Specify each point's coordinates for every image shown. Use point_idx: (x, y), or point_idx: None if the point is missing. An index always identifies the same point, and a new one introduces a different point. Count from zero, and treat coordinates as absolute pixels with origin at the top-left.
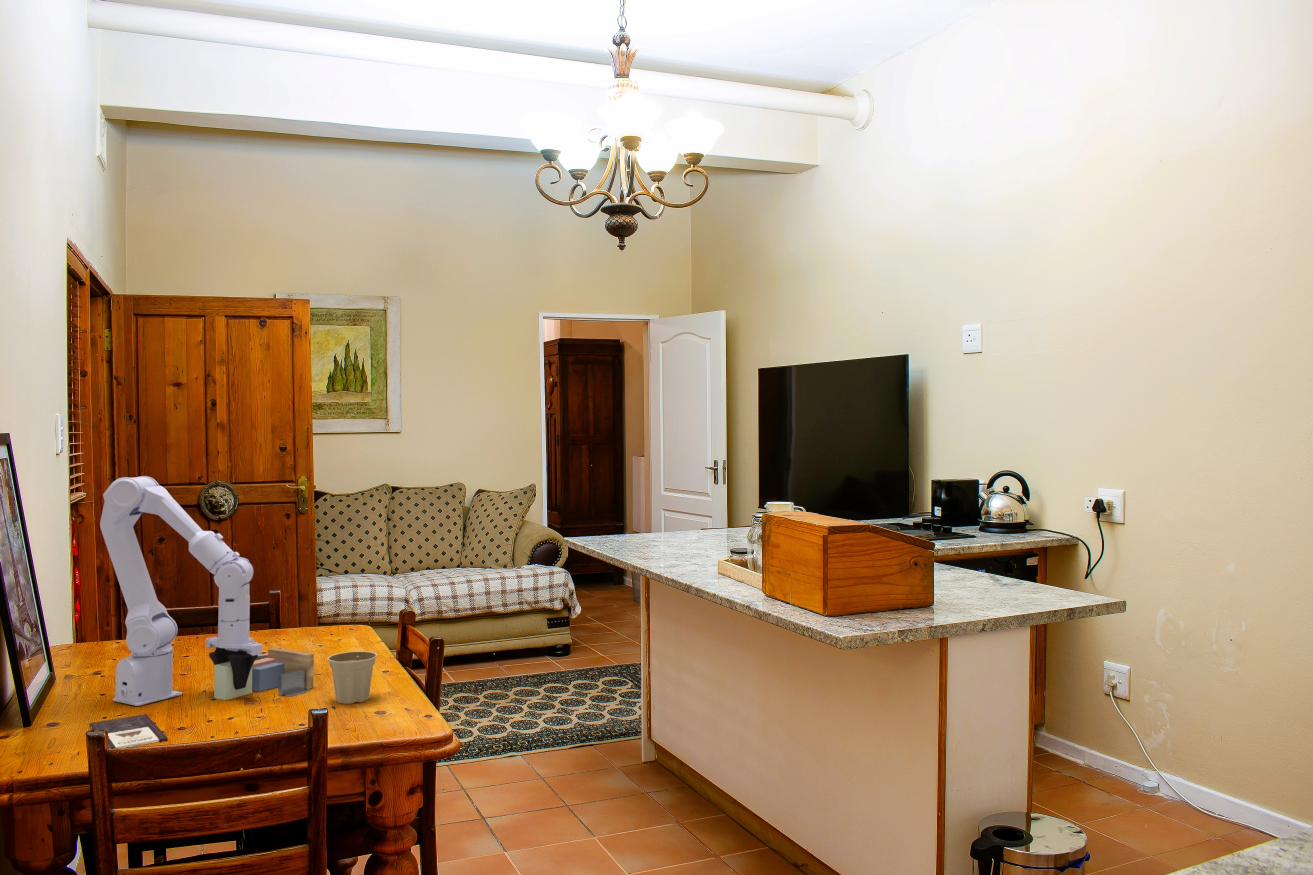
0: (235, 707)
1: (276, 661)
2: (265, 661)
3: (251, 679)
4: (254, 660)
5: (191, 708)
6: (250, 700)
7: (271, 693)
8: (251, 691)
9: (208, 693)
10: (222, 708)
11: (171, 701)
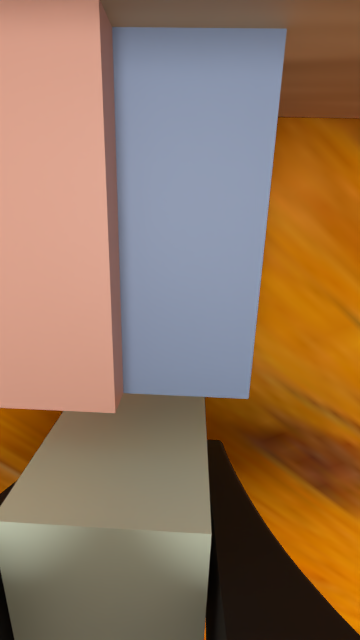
0: (343, 552)
1: (115, 22)
2: (107, 221)
3: (203, 405)
4: (349, 631)
5: None
6: (320, 459)
7: (325, 319)
8: None
9: (13, 457)
10: None
11: None
